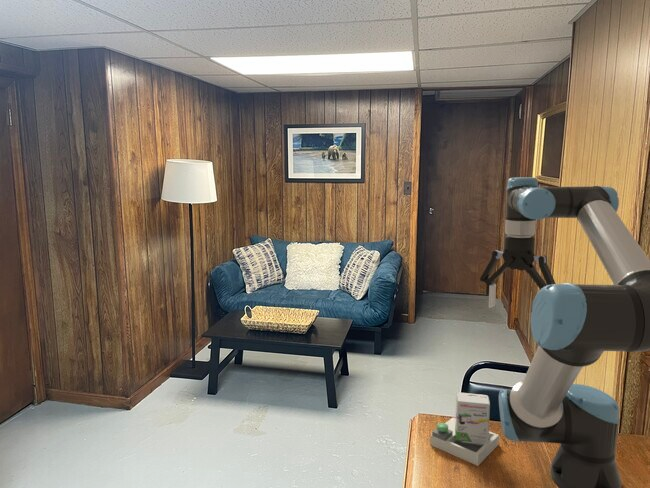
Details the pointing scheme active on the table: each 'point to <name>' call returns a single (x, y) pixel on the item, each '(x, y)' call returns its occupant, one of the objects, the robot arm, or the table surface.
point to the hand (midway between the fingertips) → (515, 311)
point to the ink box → (472, 417)
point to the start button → (442, 427)
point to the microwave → (463, 444)
